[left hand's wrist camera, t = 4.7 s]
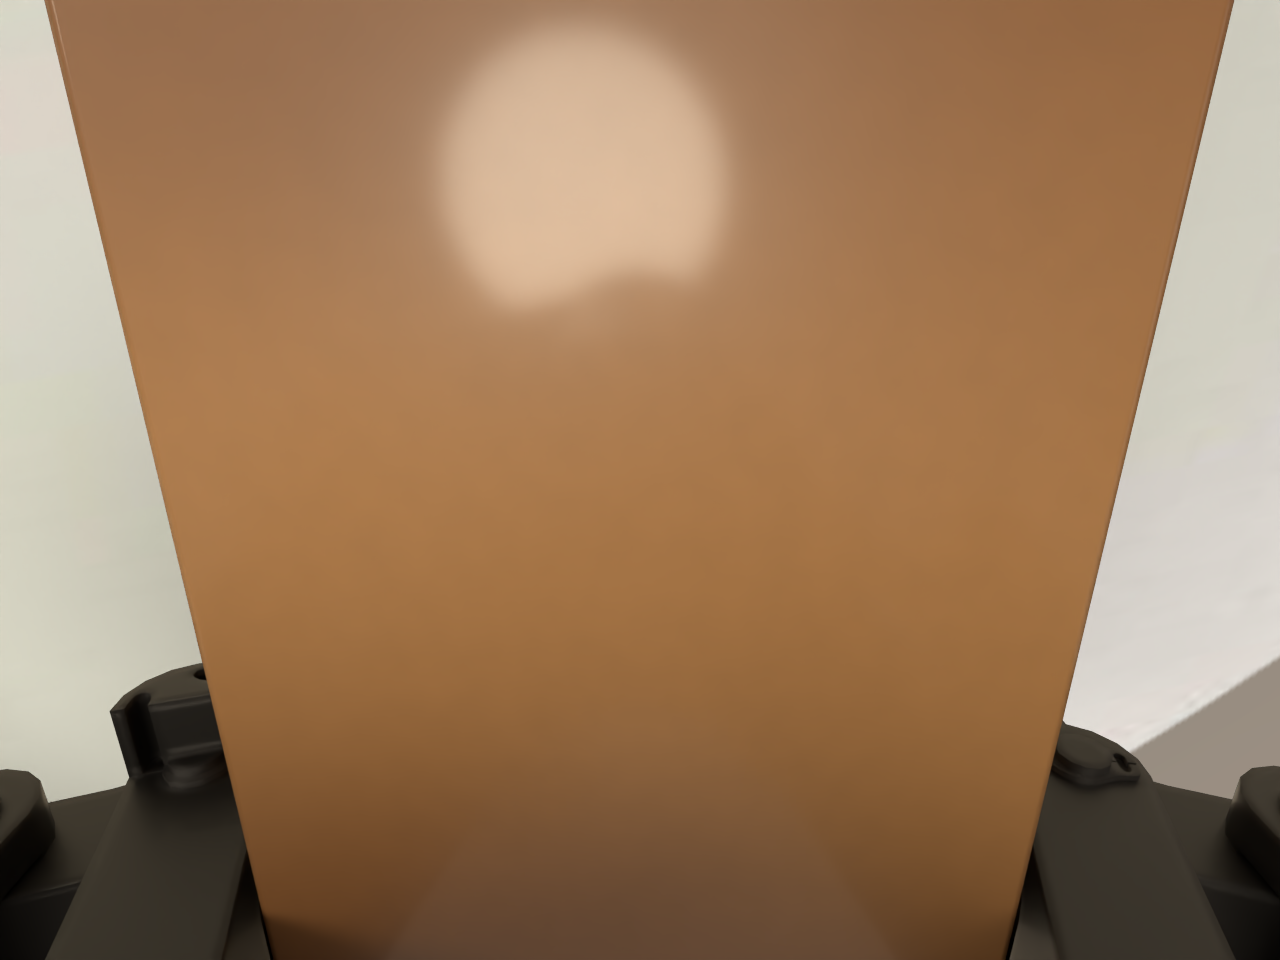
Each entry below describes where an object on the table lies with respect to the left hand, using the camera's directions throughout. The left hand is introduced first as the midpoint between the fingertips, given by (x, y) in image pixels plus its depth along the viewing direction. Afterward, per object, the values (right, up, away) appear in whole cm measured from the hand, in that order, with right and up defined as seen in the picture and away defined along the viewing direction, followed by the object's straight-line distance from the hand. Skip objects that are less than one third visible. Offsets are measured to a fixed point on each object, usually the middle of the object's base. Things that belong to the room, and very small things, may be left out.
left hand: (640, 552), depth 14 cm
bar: (0, +13, -4) cm, 13 cm away
